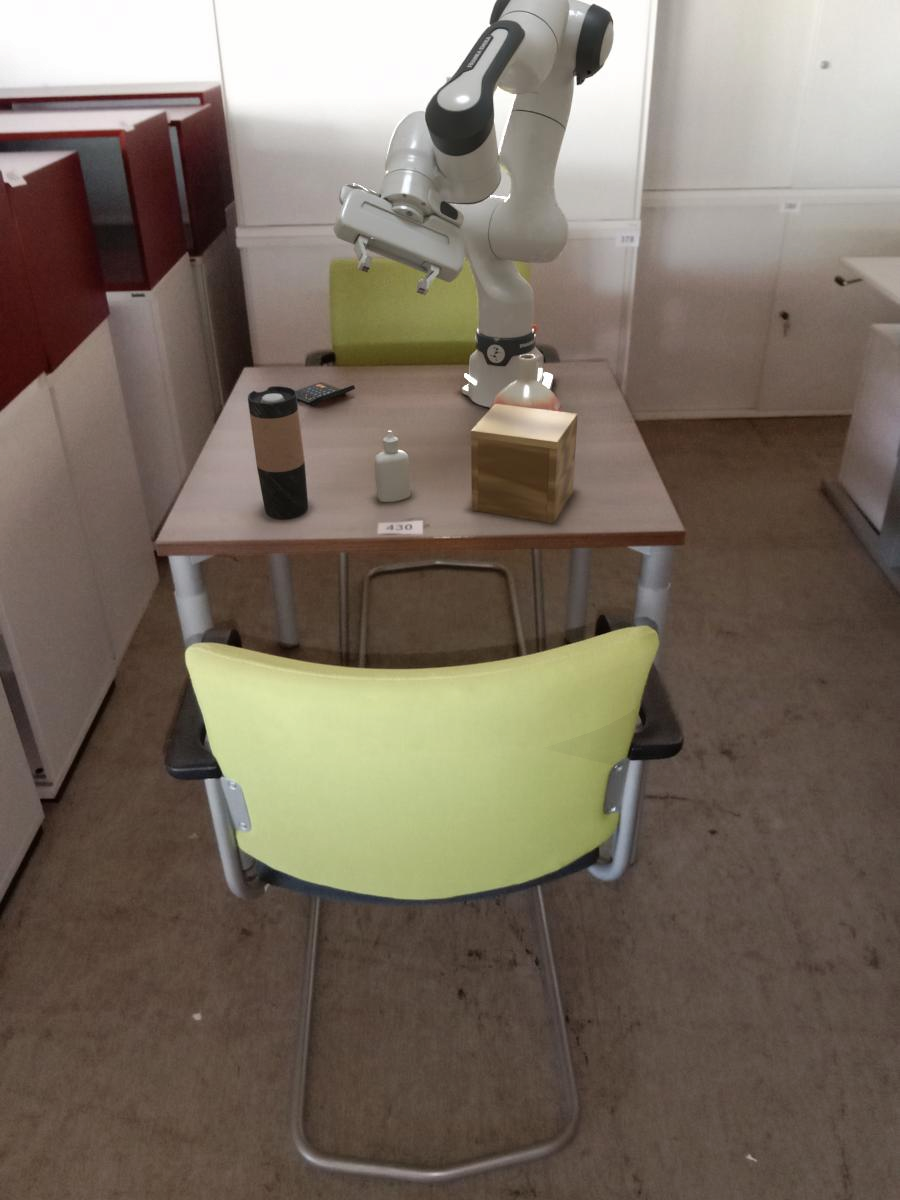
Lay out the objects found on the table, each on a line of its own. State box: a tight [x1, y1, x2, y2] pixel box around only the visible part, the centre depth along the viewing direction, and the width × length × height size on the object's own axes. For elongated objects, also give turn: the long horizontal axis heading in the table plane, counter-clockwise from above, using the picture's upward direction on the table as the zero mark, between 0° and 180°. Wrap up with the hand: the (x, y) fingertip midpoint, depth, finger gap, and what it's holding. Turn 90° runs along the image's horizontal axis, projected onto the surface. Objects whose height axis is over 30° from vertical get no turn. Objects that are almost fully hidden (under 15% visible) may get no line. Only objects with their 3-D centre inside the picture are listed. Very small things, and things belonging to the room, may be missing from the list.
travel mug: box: [247, 385, 309, 521], centre depth 149 cm, size 8×8×20 cm
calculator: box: [294, 382, 356, 407], centre depth 197 cm, size 9×12×3 cm
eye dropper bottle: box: [374, 429, 412, 503], centre depth 154 cm, size 4×6×12 cm
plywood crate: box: [470, 404, 578, 524], centre depth 151 cm, size 12×14×14 cm
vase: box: [488, 354, 563, 412], centre depth 168 cm, size 14×14×18 cm
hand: (393, 280), depth 139 cm, fingers open, 8 cm apart
